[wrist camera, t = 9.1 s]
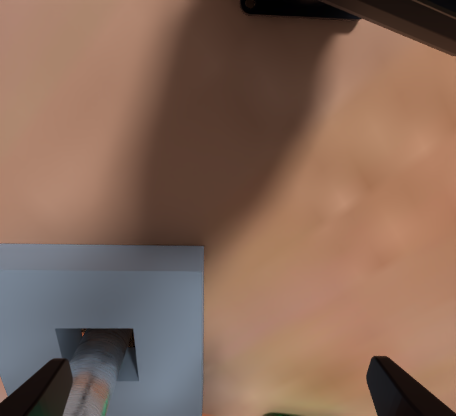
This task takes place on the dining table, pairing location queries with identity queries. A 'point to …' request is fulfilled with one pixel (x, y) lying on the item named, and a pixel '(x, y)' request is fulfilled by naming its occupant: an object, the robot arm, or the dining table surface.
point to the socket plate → (108, 317)
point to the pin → (96, 370)
